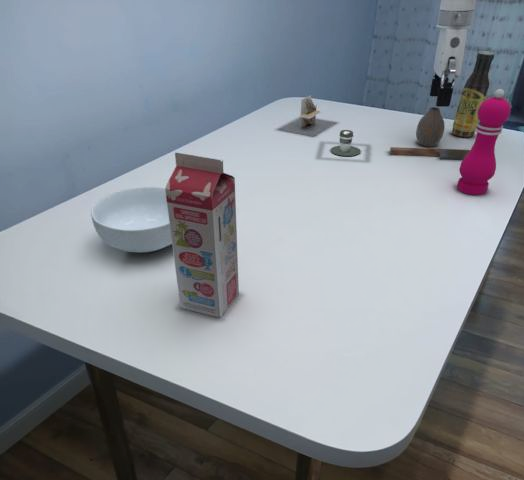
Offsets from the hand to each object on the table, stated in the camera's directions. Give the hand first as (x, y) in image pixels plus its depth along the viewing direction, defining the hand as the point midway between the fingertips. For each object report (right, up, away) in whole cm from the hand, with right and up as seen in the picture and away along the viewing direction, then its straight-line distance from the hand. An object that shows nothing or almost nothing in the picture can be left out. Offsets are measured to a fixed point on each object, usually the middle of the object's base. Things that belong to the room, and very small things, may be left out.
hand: (439, 101), depth 123 cm
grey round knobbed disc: (-23, -12, +3) cm, 26 cm away
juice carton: (-52, -55, -47) cm, 89 cm away
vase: (-1, -8, +7) cm, 11 cm away
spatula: (-1, -13, +1) cm, 13 cm away
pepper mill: (+2, -27, -15) cm, 31 cm away
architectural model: (-31, +2, +19) cm, 36 cm away
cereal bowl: (-65, -43, -33) cm, 85 cm away
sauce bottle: (+11, -3, +13) cm, 18 cm away
